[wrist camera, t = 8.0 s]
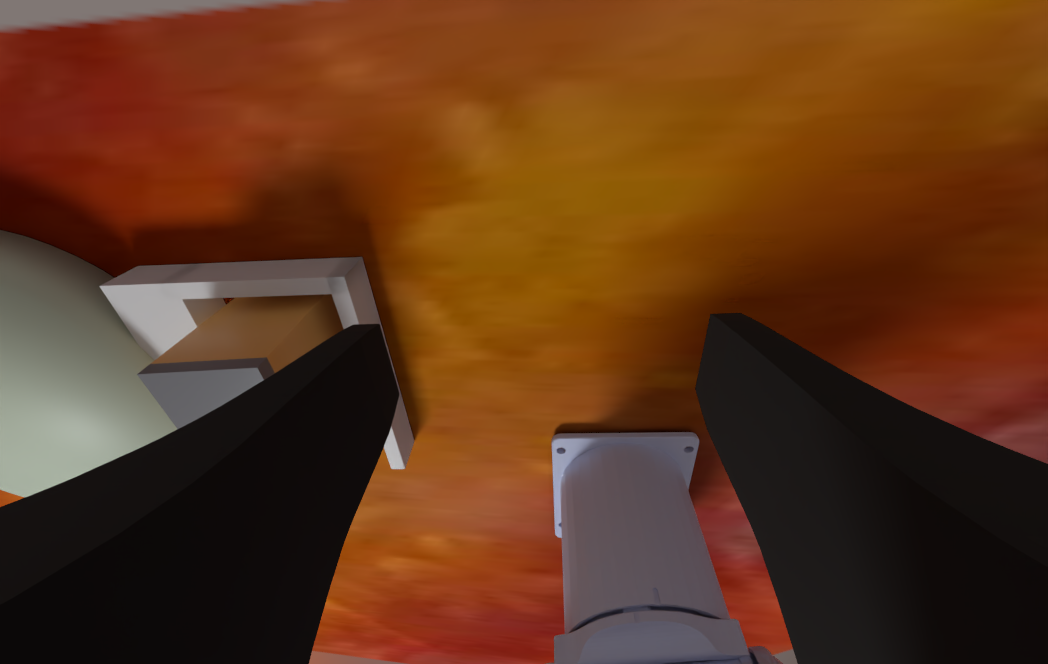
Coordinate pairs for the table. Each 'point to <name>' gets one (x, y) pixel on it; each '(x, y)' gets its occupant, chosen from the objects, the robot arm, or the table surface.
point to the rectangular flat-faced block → (237, 351)
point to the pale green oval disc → (125, 349)
